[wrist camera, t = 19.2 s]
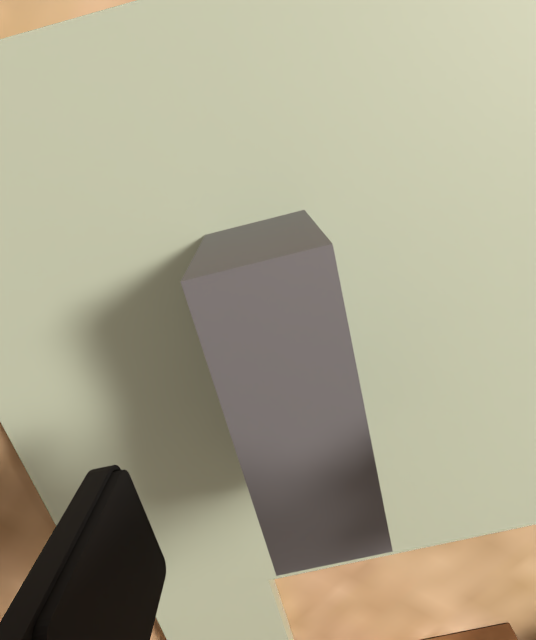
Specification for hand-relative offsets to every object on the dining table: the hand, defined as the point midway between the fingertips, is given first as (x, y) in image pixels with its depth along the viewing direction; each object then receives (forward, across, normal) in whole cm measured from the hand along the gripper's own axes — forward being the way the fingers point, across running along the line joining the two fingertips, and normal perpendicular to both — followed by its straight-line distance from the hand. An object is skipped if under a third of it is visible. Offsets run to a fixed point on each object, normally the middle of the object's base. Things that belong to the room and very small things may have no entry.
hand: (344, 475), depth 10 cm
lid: (+7, +1, +1) cm, 7 cm away
